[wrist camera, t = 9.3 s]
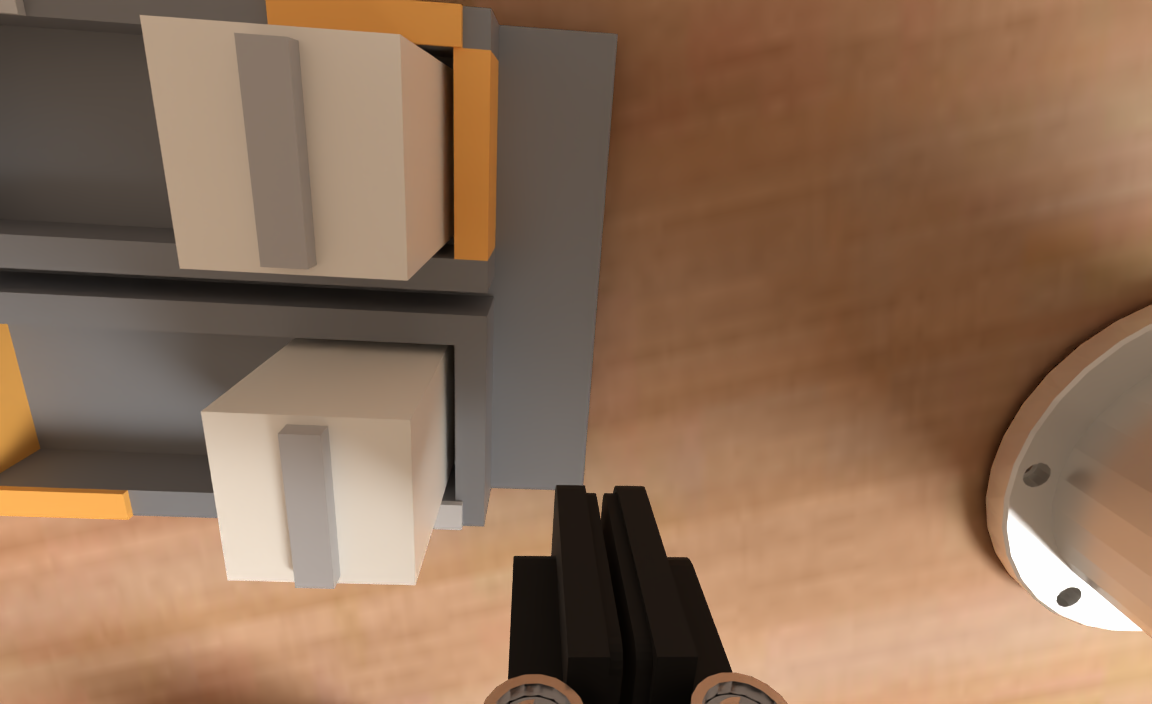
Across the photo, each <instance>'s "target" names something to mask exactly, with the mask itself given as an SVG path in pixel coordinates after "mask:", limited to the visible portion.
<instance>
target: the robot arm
mask: <svg viewBox="0 0 1152 704" xmlns="http://www.w3.org/2000/svg"><path fill="white" fill-rule="evenodd" d="M986 512H987V528H988V531H989V534H990V537H991V541H992V544H993V547H994V550H995V553H996V554H997V556H998V558H999V559H1000V561H1001V562H1002V564H1003V566H1004V567H1005V569H1006V570H1007V572H1008V574H1010V575H1011V576H1012V577H1013V578H1014V579H1015V580H1016V581H1017V582H1018V583H1019V584H1020V585H1021V586H1022V587H1023V588H1024V589H1025V590H1026V591H1027V592H1028V593H1029V594H1030V595H1031V596H1032V597H1033V598H1034V599H1035V600H1036V601H1038V602H1039V603H1040V604H1041V605H1043V606H1044V607H1045V608H1047V609H1048V610H1049V611H1051V612H1053V613H1054V614H1056V615H1059V616H1061V617H1064V618H1066V619H1068V620H1071V621H1073V622H1076V623H1078V624H1080V625H1085V626H1090V627H1095V628H1101V629H1106V630H1119V631H1144V632H1145V633H1146V634H1147V635H1149V636H1150V637H1151V638H1152V304H1151V305H1149V306H1147V307H1145V308H1143V309H1141V310H1139V311H1137V312H1134V313H1132V314H1130V315H1128V316H1126V317H1124V318H1122V319H1120V320H1118V321H1116V322H1114V323H1113V324H1111V325H1110V326H1108V327H1107V328H1105V329H1104V330H1102V331H1101V332H1099V333H1098V334H1096V335H1095V336H1093V337H1092V338H1090V339H1089V340H1087V341H1086V342H1084V343H1083V344H1081V345H1080V346H1079V347H1077V348H1076V349H1075V350H1074V351H1073V352H1072V353H1071V354H1070V355H1069V356H1067V357H1066V358H1065V359H1064V360H1063V361H1062V362H1061V363H1060V364H1058V365H1057V366H1056V367H1055V368H1054V369H1053V370H1052V371H1051V372H1049V373H1048V375H1047V376H1046V377H1045V378H1044V379H1043V380H1042V382H1041V383H1040V384H1039V385H1038V386H1037V388H1036V389H1035V390H1034V391H1033V392H1032V394H1031V395H1030V396H1029V397H1028V398H1027V400H1026V401H1025V402H1024V403H1023V404H1022V406H1021V408H1020V409H1019V411H1018V413H1017V414H1016V416H1015V418H1014V419H1013V421H1012V423H1011V424H1010V426H1009V428H1008V429H1007V431H1006V433H1005V434H1004V436H1003V439H1002V441H1001V444H1000V446H999V449H998V452H997V454H996V457H995V459H994V462H993V465H992V467H991V472H990V478H989V483H988V489H987V495H986ZM484 704H787V702H786V701H785V700H784V699H783V697H782V696H781V695H780V694H779V693H777V692H776V691H775V690H774V689H772V688H771V687H770V686H769V685H767V684H765V683H763V682H761V681H760V680H758V679H756V678H754V677H751V676H747V675H743V674H739V673H733V672H732V670H731V667H730V664H729V662H728V659H727V656H726V653H725V651H724V648H723V645H722V643H721V640H720V637H719V635H718V632H717V629H716V627H715V624H714V621H713V618H712V616H711V613H710V610H709V608H708V605H707V602H706V600H705V597H704V594H703V591H702V589H701V586H700V583H699V581H698V578H697V575H696V573H695V570H694V567H693V565H692V563H691V561H690V559H688V558H687V557H667V556H666V553H665V549H664V546H663V543H662V540H661V537H660V534H659V531H658V527H657V524H656V521H655V518H654V515H653V512H652V508H651V505H650V502H649V499H648V496H647V493H646V490H645V487H643V486H615V487H614V491H613V493H604V495H603V502H602V513H601V519H600V513H599V508H598V502H597V496H596V493H586V489H585V486H584V485H556V488H555V502H554V519H553V536H552V553H551V556H514V562H513V583H512V605H511V627H510V649H509V671H508V680H507V681H506V682H504V683H502V684H501V685H499V686H497V687H496V688H495V689H494V690H493V691H492V693H491V694H490V695H489V696H488V697H487V698H486V699H485V702H484Z"/></svg>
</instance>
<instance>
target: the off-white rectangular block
mask: <svg viewBox="0 0 1152 704" xmlns="http://www.w3.org/2000/svg"><path fill="white" fill-rule="evenodd" d="M140 21H141V27H142V33H143V40H144V46H145V52H146V59H147V65H148V71H149V77H150V84H151V90H152V96H153V103H154V109H155V115H156V122H157V128H158V134H159V140H160V147H161V153H162V159H163V166H164V172H165V178H166V185H167V191H168V197H169V204H170V210H171V216H172V222H173V229H174V235H175V241H176V248H177V254H178V260H179V267H180V269H197V270H216V271H235V272H254V273H272V274H291V275H310V276H329V277H348V278H367V279H385V280H404V281H408V280H409V279H410V278H411V277H412V276H413V275H414V274H415V273H416V272H417V271H418V270H419V269H420V268H421V267H422V266H423V265H424V264H425V263H426V262H427V261H428V260H429V259H430V258H431V257H432V256H433V255H434V254H435V253H436V252H437V251H438V250H439V249H441V248H442V247H443V246H444V245H445V244H446V243H447V242H448V241H449V240H450V239H451V238H452V237H453V236H454V78H453V70H452V69H451V68H450V67H448V66H447V65H445V64H444V63H442V62H441V61H439V60H438V59H436V58H435V57H433V56H432V55H430V54H429V53H427V52H426V51H424V50H423V49H421V48H420V47H418V46H417V45H415V44H414V43H412V42H411V41H409V40H408V39H406V38H405V37H403V36H402V35H400V34H389V33H376V32H362V31H349V30H336V29H322V28H309V27H296V26H282V25H269V24H255V23H242V22H229V21H215V20H202V19H189V18H175V17H162V16H148V15H140Z"/></svg>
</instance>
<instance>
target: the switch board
mask: <svg viewBox="0 0 1152 704" xmlns="http://www.w3.org/2000/svg"><path fill="white" fill-rule="evenodd" d="M140 15H148V16H162V17H175V18H189V19H202V20H215V21H229V22H242V23H255V24H269V25H282V26H296V27H309V28H322V29H336V30H349V31H362V32H376V33H389V34H400V35H402V36H403V37H405V38H406V39H408V40H409V41H411V42H412V43H414V44H415V45H417V46H418V47H420V48H421V49H423V50H424V51H426V52H427V53H429V54H430V55H432V56H433V57H435V58H436V59H438V60H439V61H441V62H442V63H444V64H445V65H447V66H448V67H450V68H451V69H452V70H453V78H454V236H453V237H452V238H451V239H450V240H449V241H448V242H447V243H446V244H445V245H444V246H443V247H442V248H441V249H439V250H438V251H437V252H436V253H435V254H434V255H433V256H432V257H431V258H430V259H429V260H428V261H427V262H426V263H425V264H424V265H423V266H422V267H421V268H420V269H419V270H418V271H417V272H416V273H415V274H414V275H413V276H412V277H411V278H410V279H409V280H408V281H404V280H385V279H367V278H348V277H329V276H310V275H291V274H272V273H254V272H235V271H216V270H197V269H180V267H179V260H178V254H177V248H176V241H175V235H174V229H173V222H172V216H171V210H170V204H169V197H168V191H167V185H166V178H165V172H164V166H163V159H162V153H161V147H160V140H159V134H158V128H157V122H156V115H155V109H154V103H153V96H152V90H151V84H150V77H149V71H148V65H147V59H146V52H145V46H144V40H143V33H142V27H141V21H140ZM617 38H618V34H612V33H599V32H586V31H572V30H559V29H546V28H533V27H520V26H507V25H499V23H498V21H497V19H496V17H495V15H494V13H493V11H492V9H491V8H481V7H468V6H462V4H453V3H440V2H428V1H415V0H0V516H27V517H59V518H91V519H123V520H129V519H130V518H131V517H132V516H133V515H139V516H171V517H202V518H218V516H217V510H216V504H215V498H214V491H213V485H212V479H211V473H210V466H209V460H208V454H207V448H206V441H205V435H204V429H203V423H202V416H201V411H202V410H203V409H205V408H206V407H207V406H209V405H210V404H211V403H212V402H214V401H215V400H216V399H218V398H219V397H220V396H221V395H223V394H224V393H225V392H227V391H228V390H229V389H230V388H232V387H233V386H234V385H236V384H237V383H238V382H239V381H241V380H242V379H243V378H245V377H246V376H247V375H248V374H250V373H251V372H252V371H254V370H255V369H256V368H257V367H259V366H260V365H261V364H263V363H264V362H265V361H266V360H268V359H269V358H270V357H272V356H273V355H274V354H276V353H277V352H278V351H279V350H281V349H282V348H283V347H285V346H286V345H287V344H288V343H290V342H291V341H292V340H294V339H295V338H312V339H333V340H354V341H375V342H396V343H417V344H438V345H454V439H455V459H454V462H453V466H452V469H451V472H450V475H449V479H448V482H447V485H446V488H445V492H444V495H443V498H442V501H441V505H440V508H439V511H438V514H437V518H436V521H435V524H434V527H433V529H444V530H462V527H463V526H484V524H485V518H486V513H487V507H488V501H489V496H490V490H491V488H512V489H540V490H555V488H556V485H583V481H584V467H585V454H586V441H587V428H588V415H589V402H590V389H591V376H592V363H593V350H594V337H595V324H596V311H597V298H598V285H599V272H600V259H601V246H602V233H603V220H604V207H605V194H606V181H607V168H608V155H609V142H610V129H611V116H612V103H613V90H614V77H615V64H616V51H617Z"/></svg>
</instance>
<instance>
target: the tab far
mask: <svg viewBox="0 0 1152 704" xmlns="http://www.w3.org/2000/svg"><path fill="white" fill-rule="evenodd" d="M201 416H202V423H203V429H204V435H205V441H206V448H207V454H208V460H209V466H210V473H211V479H212V485H213V491H214V498H215V504H216V510H217V516H218V523H219V529H220V535H221V542H222V548H223V554H224V560H225V567H226V573H227V579H228V580H237V581H275V582H295V588H324V589H334V588H335V586H336V584H337V583H352V584H390V585H416V582H417V579H418V576H419V573H420V569H421V566H422V563H423V560H424V557H425V553H426V550H427V547H428V544H429V540H430V537H431V534H432V531H433V527H434V524H435V521H436V518H437V514H438V511H439V508H440V505H441V501H442V498H443V495H444V492H445V488H446V485H447V482H448V479H449V475H450V472H451V469H452V466H453V462H454V459H455V439H454V345H438V344H417V343H396V342H375V341H354V340H333V339H312V338H295V339H294V340H292V341H291V342H290V343H288V344H287V345H286V346H285V347H283V348H282V349H281V350H279V351H278V352H277V353H276V354H274V355H273V356H272V357H270V358H269V359H268V360H266V361H265V362H264V363H263V364H261V365H260V366H259V367H257V368H256V369H255V370H254V371H252V372H251V373H250V374H248V375H247V376H246V377H245V378H243V379H242V380H241V381H239V382H238V383H237V384H236V385H234V386H233V387H232V388H230V389H229V390H228V391H227V392H225V393H224V394H223V395H221V396H220V397H219V398H218V399H216V400H215V401H214V402H212V403H211V404H210V405H209V406H207V407H206V408H205V409H203V410H202V411H201Z"/></svg>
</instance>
